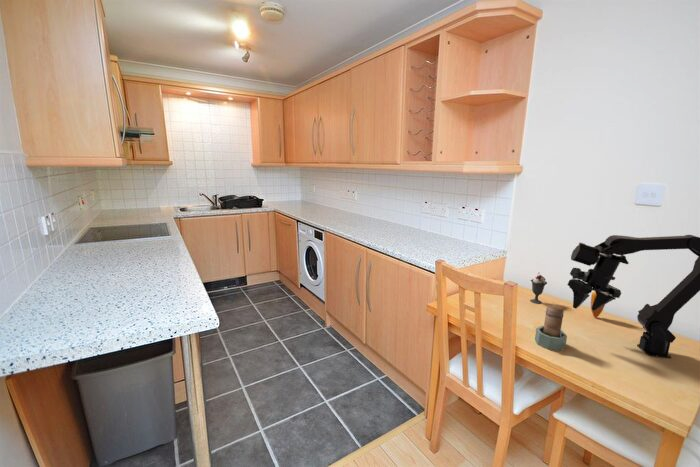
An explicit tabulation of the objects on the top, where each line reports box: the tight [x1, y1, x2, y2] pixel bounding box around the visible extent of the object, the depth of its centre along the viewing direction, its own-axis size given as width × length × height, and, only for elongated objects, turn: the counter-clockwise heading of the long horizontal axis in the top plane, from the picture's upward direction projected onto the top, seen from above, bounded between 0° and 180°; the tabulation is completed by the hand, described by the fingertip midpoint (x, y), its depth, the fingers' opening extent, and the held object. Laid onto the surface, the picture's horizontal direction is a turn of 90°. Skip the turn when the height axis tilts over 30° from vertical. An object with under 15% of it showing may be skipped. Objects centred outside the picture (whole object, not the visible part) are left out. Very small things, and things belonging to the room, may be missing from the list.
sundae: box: [529, 273, 548, 305], centre depth 147 cm, size 7×7×15 cm
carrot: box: [590, 291, 606, 319], centre depth 131 cm, size 5×5×15 cm
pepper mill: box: [543, 304, 565, 338], centre depth 111 cm, size 5×5×13 cm
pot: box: [534, 325, 568, 352], centre depth 112 cm, size 9×9×4 cm
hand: (583, 309), depth 114 cm, fingers open, 9 cm apart
